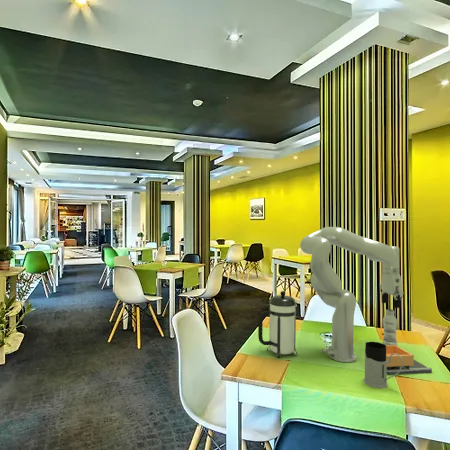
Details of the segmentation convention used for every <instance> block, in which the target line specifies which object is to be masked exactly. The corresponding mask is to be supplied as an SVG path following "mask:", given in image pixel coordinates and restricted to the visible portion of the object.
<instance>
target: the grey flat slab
mask: <svg viewBox="0 0 450 450" xmlns="http://www.w3.org/2000/svg"><path fill="white" fill-rule="evenodd" d="M400 367H401V366H392V369H388V368H387V375H388V376H389V375H390V376H393V375H395V374H396V373H397V372H398V371H399V370H400ZM432 369H433V368H432V367H427V366H426V365H424V364H422V363H421V362H419V361H417V360H415V359H414V365H413V366H410V367H409V368H405V367H404V366H402V369H401V371H400V372H399V373H398V374H397V375H410V374H432V372H433V370H432ZM395 376H396V375H395Z"/></svg>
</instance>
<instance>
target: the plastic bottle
mask: <svg viewBox="0 0 450 450" xmlns="http://www.w3.org/2000/svg"><path fill="white" fill-rule="evenodd" d="M395 315H396V314H395V310H394V309H391V308H388V309H386V310H385V315H384V317H383V319H382V324H383V341H382V344H384V345H396V346H398V345H399V344H398V341H397V328H398V327H397V326H398V319H397V318H396V316H395ZM398 347H399V346H398Z"/></svg>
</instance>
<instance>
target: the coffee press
mask: <svg viewBox="0 0 450 450" xmlns="http://www.w3.org/2000/svg"><path fill="white" fill-rule="evenodd" d="M279 294H280V295H279ZM279 294H278V295H274V296H272V297H271V298H270V300H268V302H269V310H264V311H263V312H261V313H260V315H259V318H258V323H257V325H258V327H257V328H258V332H257V334H258V335H257V336H258V341H259V342H260V344H261V345H263V346H268V347H267V348H266V351H267V352H270V351H272V353H274V354H276V359H281V355H289V354H292V355H293V356H294V357H297V356H298V355H299V353H298V351H297V350H296V337H297V336H296V329H297V328H296V326H297V325H296V323H297V322H296V321H297V315H296V314H297V310H296V307H298V305H297V301H296V300H295V298H294V297H293V296H290V295H286V292H285V290H282V291H280V293H279ZM265 316H269V340H267V341H266V340H264V338H263V332H264V331H263V328H264V327H263V325H264V324H263V322H264V318H265Z"/></svg>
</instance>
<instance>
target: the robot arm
mask: <svg viewBox="0 0 450 450" xmlns="http://www.w3.org/2000/svg"><path fill="white" fill-rule="evenodd" d="M299 245H300V249H301V251H302V253H304V254H306V255H311V257H310V258H311V259H310V263H309V264H310V270H311V272H312V274H311V276H310V284H311V287H312V288H313V290H314V291H315V293H317V296H318V297H319V298H320V299H321V301H322V302H323V303H324V304H325V305H327V306H329V307H332V308H334V312H333V315H332V317H331V318H332V319H331V345H329V347H327V348H322V349H321V353H323V354H327V355H328V357H329V358H330V359H331V360H333V361H336V362H341V363H355V362H356V361H357V360H358V356H357V354H355V353H354V340H355V339H354V336H355V335H354V334H355V333H354V332H355V331H354V329H355V326H354V324H355V323H354V322H355V319H354V318H355V311H356V307H357V298H356V296H355V295H354V293H353V292H351V291H350V290H348V289H342V287H343V284H342V281H341V278H340V277H339V276H338V274H337V273H336V271H335V270H334V269H333V267H332V265H331V264H330V262H329V257H330V253H331V249H332V248H331V247H332V245H334V246H337V247H339V248H341V249H344V250H346V251H348V252H350V253H354V254H358V255H362V256H366V257H367V259H368V260H370V261H373V262H380V263H381V262H382V277H381V284H380V285H379V290H380V293H381V303H382V304H388V303H389V295H391V296H393V298H394V299H393V309H394V308H395V309H400V308H402V307H401V305H402V303H401V300H403V299H402V298H403V295H404V291H403V286H402V277H401V275H400V247H399V246H397V245H396V246H395V245H394V246H393V245H387V244H386V243H382V242H380V241H377V240H373V239H370V238H367V237H364V236H361V235H359V234H356V233H354V232H351V231H350V230H348V229H345V228H343V227H339V226H325V227H323V228H321V229H319V230H317V231H315V232H312V233H310V234H307V235H306V236H304V237H303V238H302V239H301V241H300V244H299Z"/></svg>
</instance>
